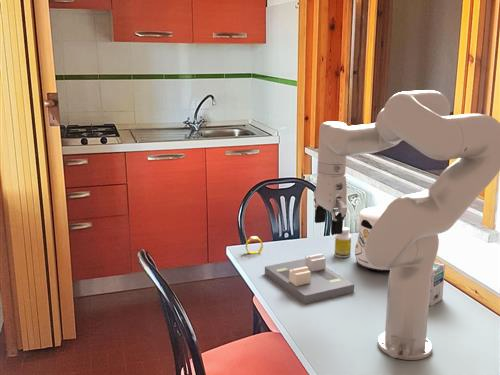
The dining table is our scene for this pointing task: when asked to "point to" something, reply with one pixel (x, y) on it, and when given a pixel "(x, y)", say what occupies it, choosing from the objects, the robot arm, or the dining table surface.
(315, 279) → the switch panel
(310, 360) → the dining table surface
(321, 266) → the ridged white block
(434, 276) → the light bulb box
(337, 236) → the supplement bottle
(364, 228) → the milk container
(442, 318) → the dining table surface
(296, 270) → the cream tab
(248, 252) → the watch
